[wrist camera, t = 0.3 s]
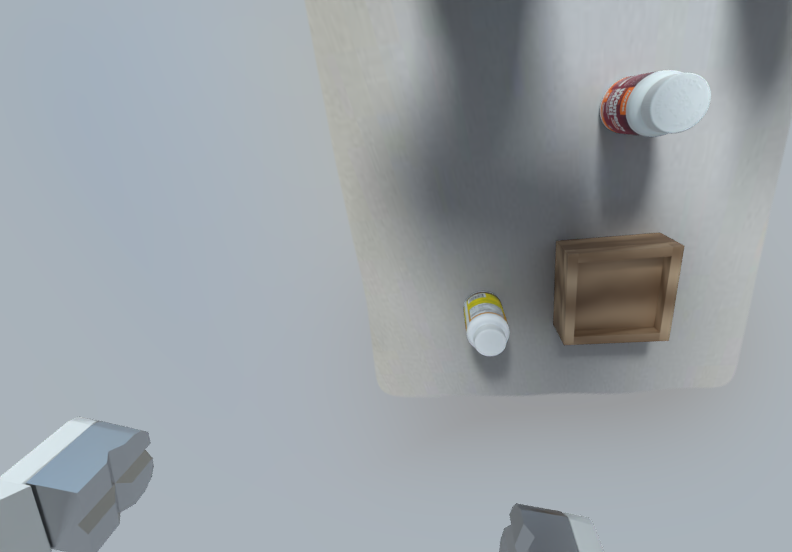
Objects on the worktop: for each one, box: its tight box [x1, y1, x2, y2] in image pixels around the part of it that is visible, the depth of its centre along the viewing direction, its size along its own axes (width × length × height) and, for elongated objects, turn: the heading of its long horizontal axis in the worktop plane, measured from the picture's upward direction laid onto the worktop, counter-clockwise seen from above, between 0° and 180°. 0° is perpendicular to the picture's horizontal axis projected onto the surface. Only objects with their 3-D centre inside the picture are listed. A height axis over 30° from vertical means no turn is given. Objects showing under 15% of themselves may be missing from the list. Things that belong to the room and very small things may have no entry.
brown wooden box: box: [553, 233, 684, 345], centre depth 52 cm, size 13×13×6 cm
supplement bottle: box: [464, 291, 510, 356], centre depth 53 cm, size 6×6×10 cm
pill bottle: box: [600, 70, 711, 137], centre depth 41 cm, size 6×6×11 cm
